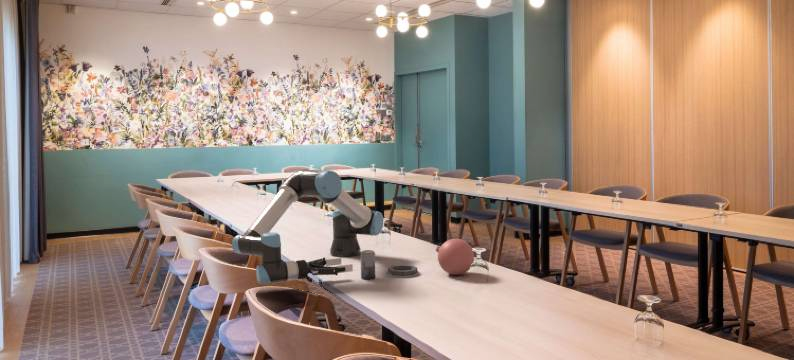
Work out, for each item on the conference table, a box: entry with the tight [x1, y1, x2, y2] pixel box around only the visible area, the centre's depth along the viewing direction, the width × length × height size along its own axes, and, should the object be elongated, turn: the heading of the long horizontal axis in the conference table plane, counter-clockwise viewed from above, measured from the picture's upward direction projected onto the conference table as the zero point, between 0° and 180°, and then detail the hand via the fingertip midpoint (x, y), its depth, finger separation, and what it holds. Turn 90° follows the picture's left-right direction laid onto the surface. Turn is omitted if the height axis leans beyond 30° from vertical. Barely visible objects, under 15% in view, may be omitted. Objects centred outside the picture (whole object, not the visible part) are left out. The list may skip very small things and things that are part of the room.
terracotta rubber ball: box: [435, 238, 475, 276], centre depth 265 cm, size 15×20×15 cm
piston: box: [360, 249, 376, 281], centre depth 259 cm, size 6×6×11 cm
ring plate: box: [386, 264, 420, 279], centre depth 266 cm, size 14×14×2 cm
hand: (346, 264), depth 255 cm, fingers open, 13 cm apart
